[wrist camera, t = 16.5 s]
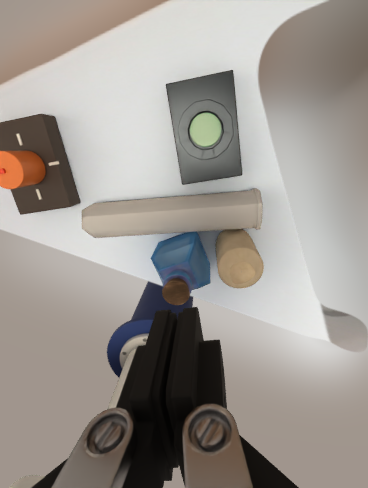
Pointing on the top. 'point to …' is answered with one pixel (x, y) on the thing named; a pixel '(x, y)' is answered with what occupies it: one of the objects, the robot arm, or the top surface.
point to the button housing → (192, 104)
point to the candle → (238, 259)
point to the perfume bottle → (181, 266)
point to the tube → (174, 214)
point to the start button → (205, 129)
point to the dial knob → (20, 169)
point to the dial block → (53, 156)
